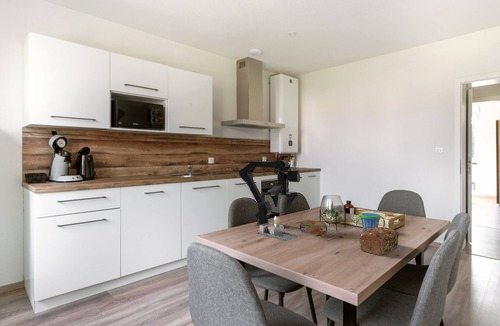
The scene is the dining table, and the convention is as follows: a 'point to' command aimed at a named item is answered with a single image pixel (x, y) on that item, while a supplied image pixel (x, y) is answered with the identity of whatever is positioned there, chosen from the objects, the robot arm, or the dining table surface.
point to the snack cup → (370, 220)
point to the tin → (313, 227)
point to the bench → (282, 236)
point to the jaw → (276, 227)
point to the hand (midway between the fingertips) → (282, 208)
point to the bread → (379, 240)
